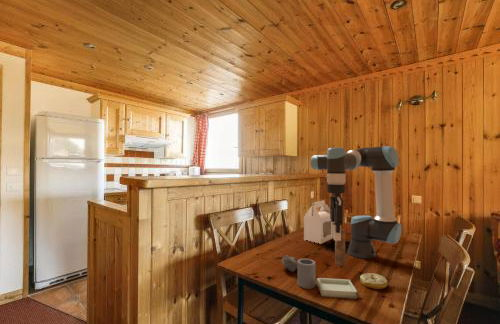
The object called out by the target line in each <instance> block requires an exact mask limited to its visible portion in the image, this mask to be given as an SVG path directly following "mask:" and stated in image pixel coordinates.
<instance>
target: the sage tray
mask: <svg viewBox="0 0 500 324" xmlns="http://www.w3.org/2000/svg"><path fill="white" fill-rule="evenodd" d="M316 284H317V286H318V289H319V292H320V295H321V297H327V298H328V297H329V298H344V299H345V298H346V299H358V297H359V294H358V293H359V292H358V291H357V289H356V287H355V286H354V284H353V283H352V282H351V279H342V278H326V277H317V279H316Z"/></svg>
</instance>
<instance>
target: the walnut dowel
mask: <svg viewBox="0 0 500 324" xmlns="http://www.w3.org/2000/svg"><path fill="white" fill-rule="evenodd" d="M334 264H335V265H337V266H340V267H344V266H346V230H344V229H341V241H338V240H334Z"/></svg>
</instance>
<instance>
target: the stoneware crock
mask: <svg viewBox="0 0 500 324" xmlns="http://www.w3.org/2000/svg"><path fill="white" fill-rule="evenodd" d="M296 262H297V269H296V270H297V271H296V272H297V276H296V277H297V280H296V282H297V285H298V286H299V287H300V288H302V289H314V288H315V287H316V261H315V260H313V259H310V258H299V259H298V260H297V261H296Z"/></svg>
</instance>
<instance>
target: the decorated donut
mask: <svg viewBox="0 0 500 324" xmlns="http://www.w3.org/2000/svg"><path fill="white" fill-rule="evenodd" d="M359 277H360V278H359V279H360V283H361V284H362V285H363V286H365V287H367V288H369V289H370V288H371V289H374V290H375V289H376V290H382V289H385V288H387V286H388V280H387V279H386V277H384V276H383V275H381V274H378V273H372V272H370V273H369V272H367V273H363V274H361V275H360V276H359Z"/></svg>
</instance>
